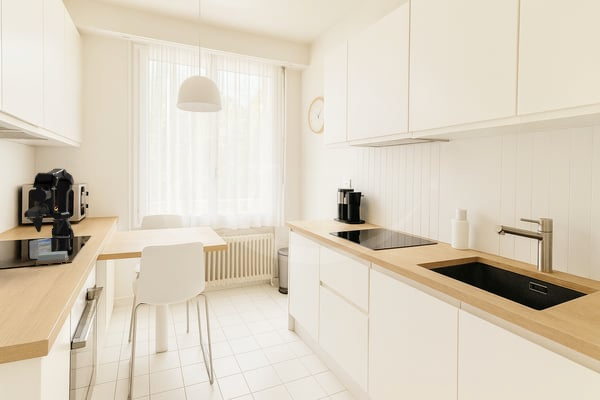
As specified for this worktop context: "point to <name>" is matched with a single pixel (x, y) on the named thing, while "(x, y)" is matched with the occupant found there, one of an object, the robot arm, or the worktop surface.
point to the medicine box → (39, 247)
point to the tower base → (52, 261)
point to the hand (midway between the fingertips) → (47, 232)
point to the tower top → (52, 255)
